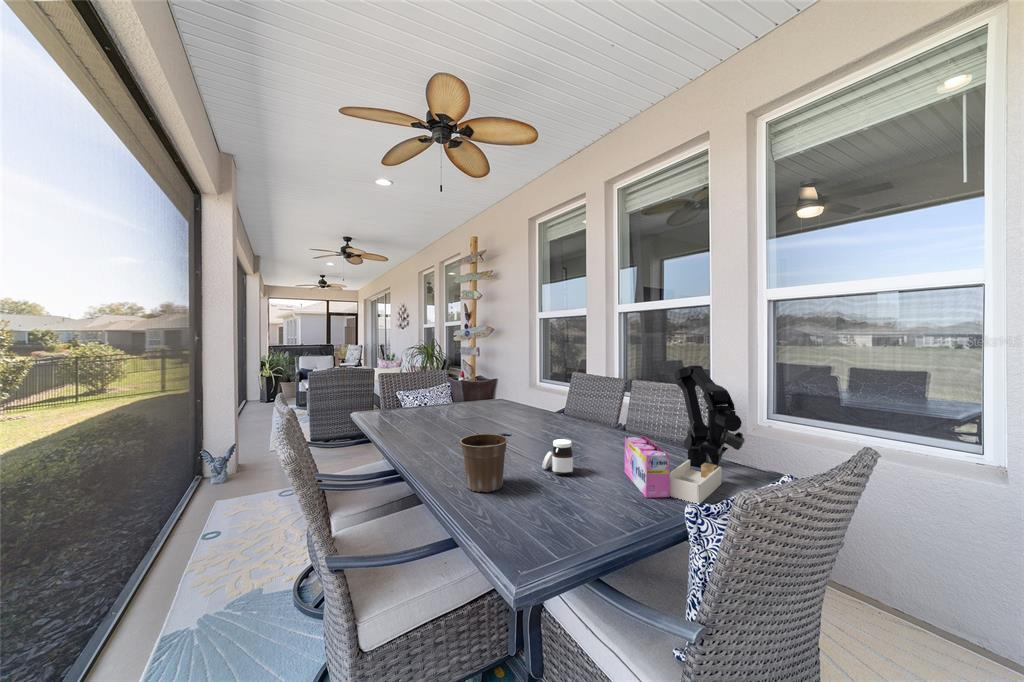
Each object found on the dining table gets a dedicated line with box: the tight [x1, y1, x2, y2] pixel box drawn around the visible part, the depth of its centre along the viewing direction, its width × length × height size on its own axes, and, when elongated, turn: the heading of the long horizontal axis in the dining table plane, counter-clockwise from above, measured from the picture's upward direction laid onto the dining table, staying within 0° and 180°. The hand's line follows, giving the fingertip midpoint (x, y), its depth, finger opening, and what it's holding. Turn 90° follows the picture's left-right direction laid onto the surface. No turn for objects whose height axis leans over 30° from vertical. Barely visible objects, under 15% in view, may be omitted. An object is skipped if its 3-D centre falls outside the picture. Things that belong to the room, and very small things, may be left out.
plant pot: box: [459, 433, 508, 493], centre depth 139 cm, size 16×16×16 cm
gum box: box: [624, 435, 671, 498], centre depth 140 cm, size 24×8×14 cm, turn 2°
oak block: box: [700, 462, 717, 478], centre depth 139 cm, size 4×4×4 cm
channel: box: [669, 459, 723, 504], centre depth 135 cm, size 11×22×6 cm, turn 137°
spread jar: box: [541, 438, 574, 477], centre depth 152 cm, size 12×11×12 cm
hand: (716, 467), depth 145 cm, fingers closed
